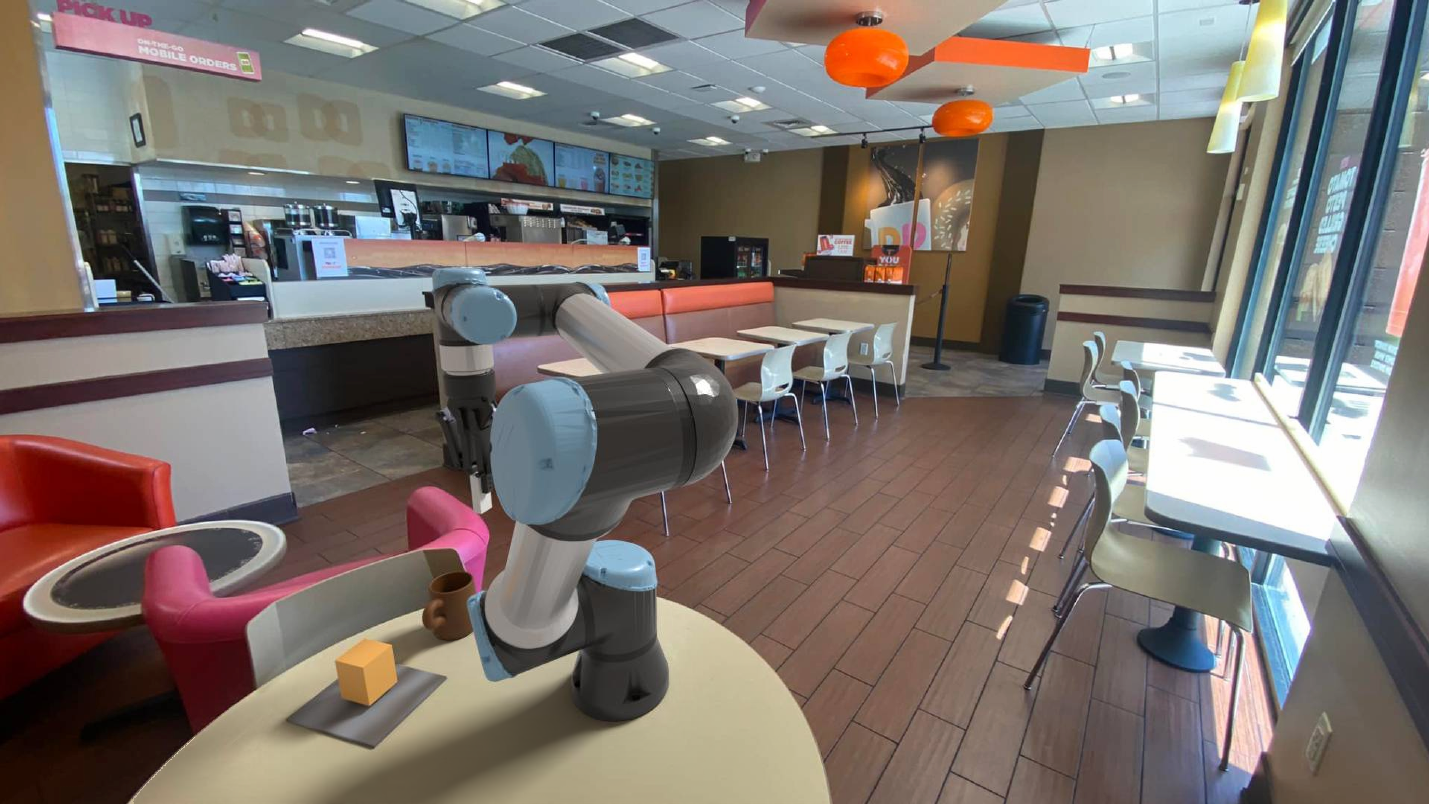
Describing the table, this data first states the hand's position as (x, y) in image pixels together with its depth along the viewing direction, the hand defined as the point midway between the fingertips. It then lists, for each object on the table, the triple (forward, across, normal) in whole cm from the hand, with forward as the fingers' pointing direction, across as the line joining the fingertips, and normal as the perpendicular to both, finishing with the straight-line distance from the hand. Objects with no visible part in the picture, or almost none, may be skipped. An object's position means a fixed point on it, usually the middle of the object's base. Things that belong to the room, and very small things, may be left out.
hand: (482, 509), depth 97 cm
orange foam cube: (+23, +9, +18) cm, 30 cm away
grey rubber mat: (+24, +9, +18) cm, 32 cm away
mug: (+25, +8, +2) cm, 26 cm away
